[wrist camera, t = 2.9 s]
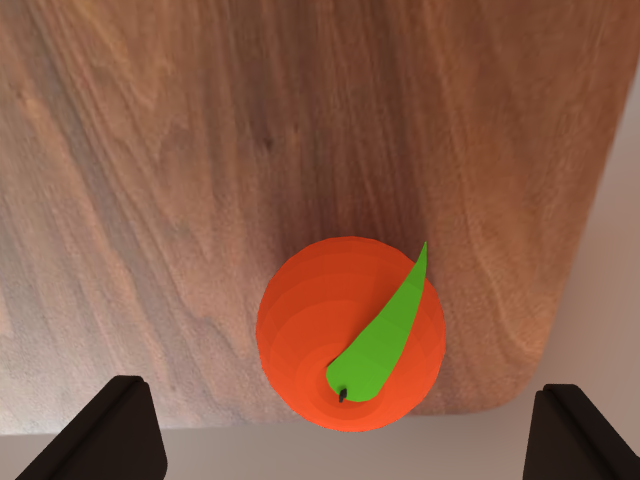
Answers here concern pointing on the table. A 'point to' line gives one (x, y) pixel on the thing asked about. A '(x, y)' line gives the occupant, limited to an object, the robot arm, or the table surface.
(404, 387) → the clementine
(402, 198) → the table surface
